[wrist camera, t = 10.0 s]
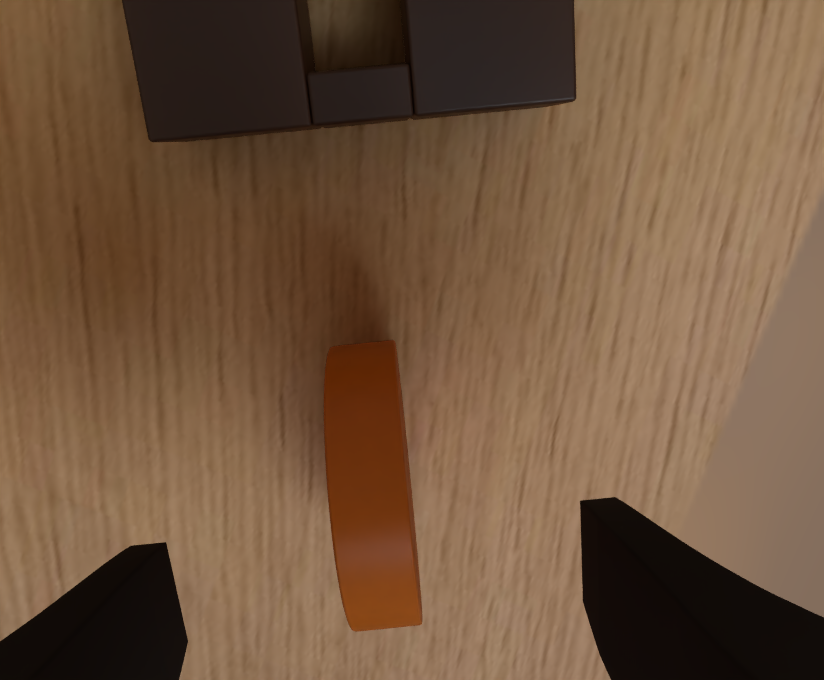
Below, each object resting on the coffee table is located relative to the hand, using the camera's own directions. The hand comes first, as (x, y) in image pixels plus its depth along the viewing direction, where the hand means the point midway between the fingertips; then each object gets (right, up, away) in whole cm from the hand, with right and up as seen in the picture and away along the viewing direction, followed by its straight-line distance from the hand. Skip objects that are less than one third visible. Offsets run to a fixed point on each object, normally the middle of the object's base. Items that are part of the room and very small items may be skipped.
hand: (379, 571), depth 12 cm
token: (0, +2, +6) cm, 6 cm away
